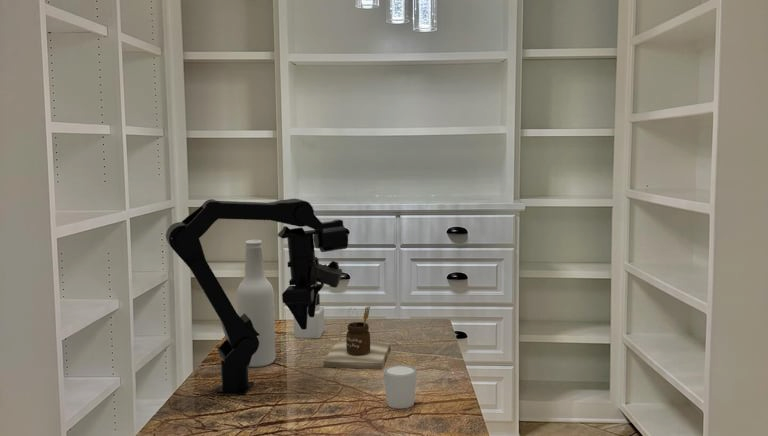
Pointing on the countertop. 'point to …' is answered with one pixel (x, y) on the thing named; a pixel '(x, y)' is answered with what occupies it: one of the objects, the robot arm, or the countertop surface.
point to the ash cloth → (357, 356)
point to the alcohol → (258, 304)
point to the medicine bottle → (312, 324)
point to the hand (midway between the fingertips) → (308, 322)
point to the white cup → (400, 386)
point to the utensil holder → (358, 336)
